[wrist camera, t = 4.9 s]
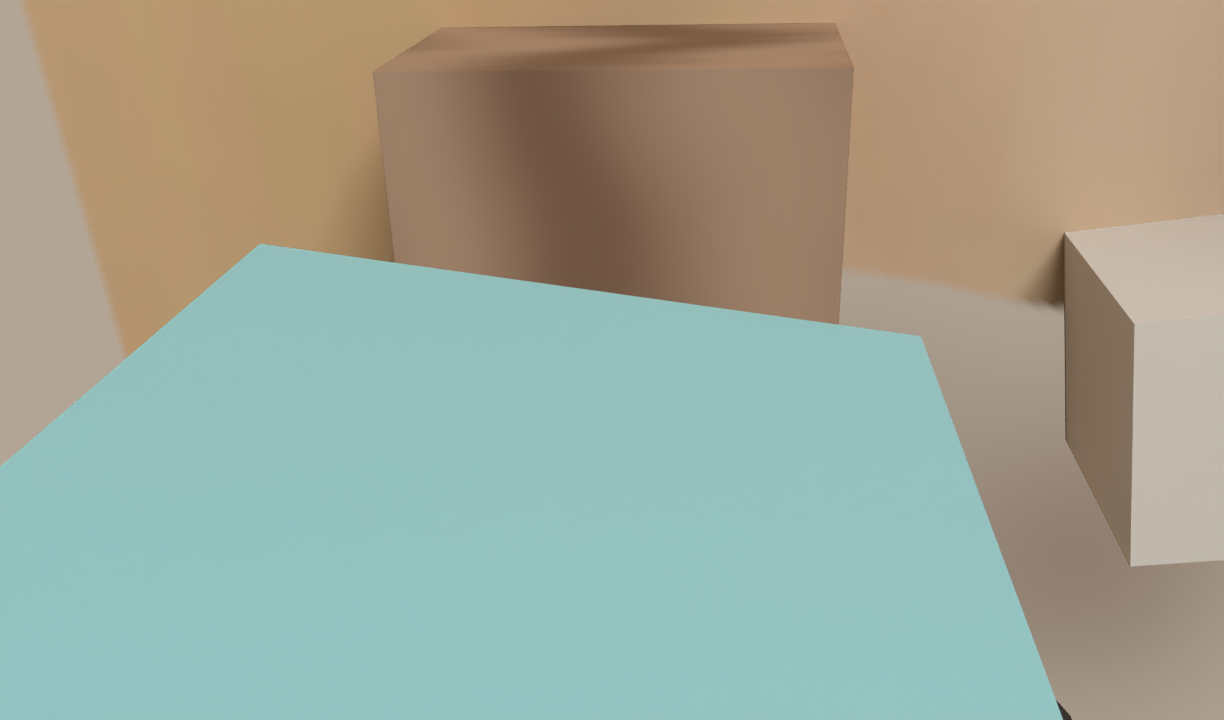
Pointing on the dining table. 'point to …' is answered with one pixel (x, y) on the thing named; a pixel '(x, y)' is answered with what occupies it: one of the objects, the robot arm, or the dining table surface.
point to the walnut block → (626, 160)
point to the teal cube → (503, 516)
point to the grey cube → (1149, 383)
